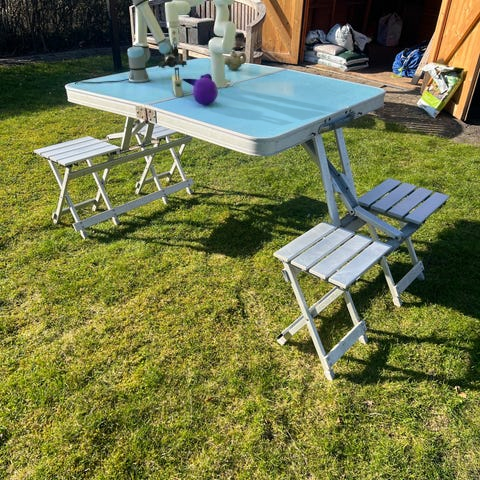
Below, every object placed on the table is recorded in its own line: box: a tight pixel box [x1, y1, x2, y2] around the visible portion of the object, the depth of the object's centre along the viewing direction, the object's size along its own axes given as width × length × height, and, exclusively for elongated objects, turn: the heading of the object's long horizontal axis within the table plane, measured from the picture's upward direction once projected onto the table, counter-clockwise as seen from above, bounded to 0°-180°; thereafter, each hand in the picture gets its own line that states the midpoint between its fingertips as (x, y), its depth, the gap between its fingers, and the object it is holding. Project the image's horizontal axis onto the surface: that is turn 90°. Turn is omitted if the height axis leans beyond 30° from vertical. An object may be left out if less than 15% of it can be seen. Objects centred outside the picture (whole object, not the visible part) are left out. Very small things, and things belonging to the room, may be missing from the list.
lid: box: [171, 66, 183, 83], centre depth 293 cm, size 18×5×8 cm, turn 12°
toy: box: [181, 73, 219, 106], centre depth 272 cm, size 16×18×27 cm
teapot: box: [224, 50, 247, 71], centre depth 368 cm, size 21×12×15 cm, turn 120°
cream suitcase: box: [171, 77, 184, 98], centre depth 298 cm, size 17×5×9 cm, turn 12°
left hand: (173, 65), depth 317 cm, fingers open, 13 cm apart
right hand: (175, 55), depth 281 cm, fingers open, 9 cm apart
